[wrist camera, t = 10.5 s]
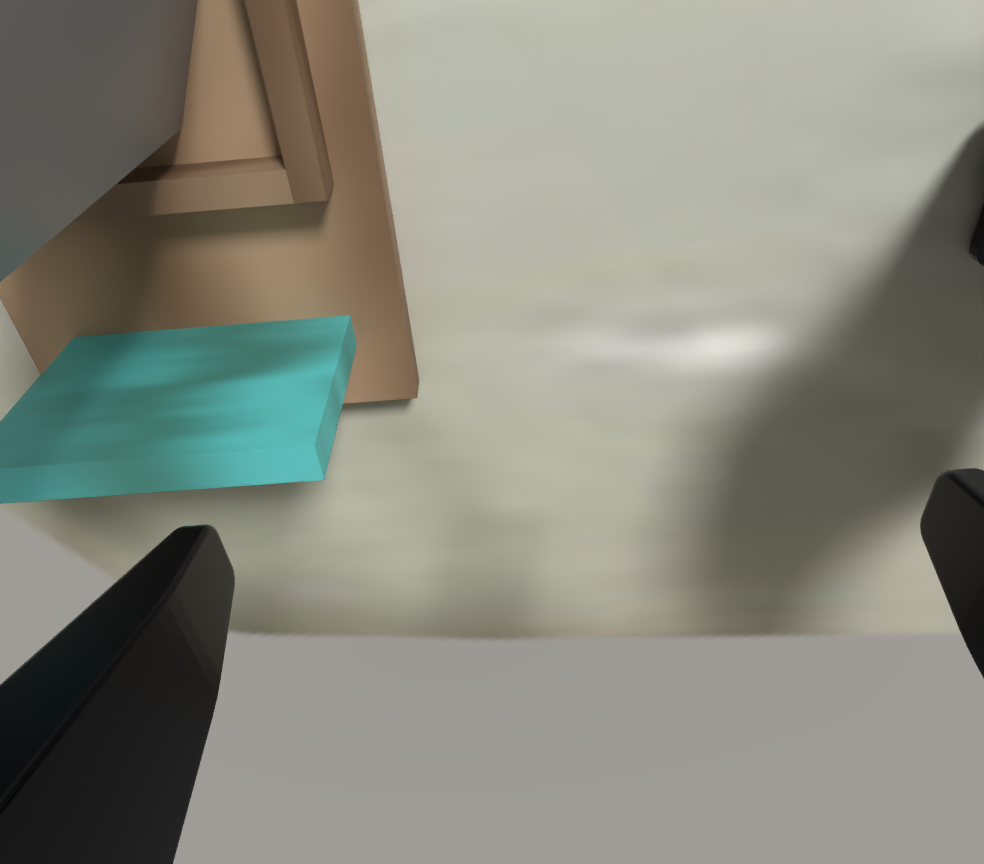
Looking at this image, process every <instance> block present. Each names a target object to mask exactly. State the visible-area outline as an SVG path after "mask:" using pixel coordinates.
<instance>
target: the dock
mask: <svg viewBox="0 0 984 864" xmlns="http://www.w3.org/2000/svg"><path fill="white" fill-rule="evenodd" d="M0 299H1V300H2V302H3V304H4V306H5V308H6V310H7V312H8V314H9V315H10V317H11V319H12V321H13V323H14V325H15V327H16V329H17V330H18V332H19V334H20V336H21V338H22V340H23V342H24V344H25V345H26V347H27V349H28V351H29V353H30V355H31V357H32V359H33V360H34V362H35V364H36V366H37V368H38V370H39V372H40V374H41V376H40V377H39V378H38V379H37V380H36V381H35V383H34V384H33V385H32V386H31V387H30V388H29V389H28V391H27V392H26V393H25V394H24V395H23V396H22V397H21V399H20V400H19V401H18V402H17V403H16V404H15V405H14V407H13V408H12V409H11V410H10V411H9V412H8V414H7V415H6V416H5V417H4V418H3V419H2V420H1V422H0V504H2V503H16V502H29V501H43V500H57V499H70V498H84V497H98V496H111V495H125V494H139V493H152V492H166V491H180V490H193V489H207V488H221V487H234V486H248V485H262V484H275V483H289V482H303V481H316V480H324V479H325V475H326V471H327V467H328V462H329V458H330V454H331V450H332V446H333V442H334V438H335V434H336V430H337V426H338V422H339V417H340V413H341V409H342V405H343V404H345V403H358V402H371V401H385V400H398V399H411V398H417V396H418V386H419V377H418V371H417V365H416V358H415V352H414V346H413V340H412V334H411V327H410V321H409V315H408V309H407V303H406V296H405V290H404V284H403V278H402V272H401V265H400V259H399V253H398V247H397V240H396V234H395V228H394V222H393V216H392V209H391V203H390V197H389V191H388V185H387V178H386V172H385V166H384V160H383V154H382V147H381V141H380V135H379V129H378V123H377V116H376V110H375V104H374V98H373V92H372V85H371V79H370V73H369V67H368V61H367V54H366V48H365V42H364V36H363V30H362V23H361V17H360V11H359V5H358V0H198V2H197V10H196V18H195V26H194V34H193V41H192V49H191V57H190V65H189V73H188V81H187V89H186V97H185V105H184V113H183V121H182V129H181V130H179V131H178V132H177V133H176V134H175V135H173V136H172V137H171V138H170V139H169V140H168V141H166V142H165V143H164V144H163V145H162V146H161V147H159V148H158V149H157V150H156V151H155V152H153V153H152V154H151V155H150V156H149V157H148V158H146V159H145V160H144V161H143V162H142V163H140V164H139V165H138V166H137V167H136V168H135V169H133V170H132V171H131V172H130V173H129V174H127V175H126V176H125V177H124V178H123V179H122V180H120V181H119V182H118V183H117V184H116V185H114V186H113V187H112V188H111V189H110V190H109V191H107V192H106V193H105V194H104V195H103V196H101V197H100V198H99V199H98V200H97V201H96V202H94V203H93V204H92V205H91V206H90V207H88V208H87V209H86V210H85V211H84V212H83V213H81V214H80V215H79V216H78V217H77V218H75V219H74V220H73V221H72V222H71V223H70V224H68V225H67V226H66V227H65V228H64V229H63V230H61V231H60V232H59V233H58V234H57V235H55V236H54V237H53V238H52V239H51V240H50V241H48V242H47V243H46V244H45V245H44V246H42V247H41V248H40V249H39V250H38V251H37V252H35V253H34V254H33V255H32V256H31V257H29V258H28V259H27V260H26V261H25V262H24V263H22V264H21V265H20V266H19V267H18V268H16V269H15V270H14V271H13V272H12V273H11V274H9V275H8V276H7V277H6V278H5V279H3V280H2V281H1V282H0Z"/></svg>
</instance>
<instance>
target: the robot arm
mask: <svg viewBox="0 0 984 864" xmlns="http://www.w3.org/2000/svg"><path fill="white" fill-rule="evenodd" d="M969 253H970V255H971V257H972V258H973V259H975V260H976V261H978V262H979V263H980V264H982V265H983V266H984V205H983V208H982V211H981V214H980V217H979V220H978V223H977V226H976V229H975V232H974V235H973V238H972V241H971V244H970V249H969ZM920 529H921V535H922V538H923V541H924V544H925V546H926V548H927V551H928V553H929V556H930V558H931V561H932V563H933V566H934V568H935V571H936V573H937V575H938V578H939V580H940V583H941V585H942V588H943V590H944V593H945V595H946V598H947V600H948V603H949V605H950V607H951V610H952V612H953V615H954V617H955V620H956V622H957V625H958V627H959V630H960V632H961V634H962V636H963V638H964V641H965V643H966V645H967V647H968V649H969V651H970V653H971V655H972V657H973V659H974V661H975V663H976V665H977V667H978V669H979V671H980V672H981V674H982V676H983V678H984V471H983V470H981V469H975V468H970V469H956V470H947V471H944V472H942V473H941V474H940V475H939V476H938V477H937V479H936V481H935V483H934V486H933V489H932V491H931V494H930V496H929V499H928V501H927V504H926V507H925V509H924V512H923V514H922V517H921V523H920ZM234 586H235V577H234V571H233V567H232V565H231V562H230V560H229V558H228V555H227V553H226V551H225V548H224V546H223V544H222V541H221V539H220V537H219V534H218V532H217V531H216V529H215V528H214V527H213V526H211V525H195V526H183V527H179V528H178V529H176V530H175V531H173V532H172V533H171V534H170V535H169V536H168V537H166V538H165V539H164V540H163V541H162V542H161V543H160V544H159V545H157V546H156V547H155V548H154V549H153V550H152V551H151V552H149V553H148V554H147V555H146V556H145V557H144V558H143V559H142V560H140V561H139V562H138V563H137V564H136V565H135V566H134V567H133V568H131V569H130V570H129V571H128V572H127V573H126V574H125V575H123V576H122V577H121V578H120V579H119V580H118V581H117V582H116V583H114V584H113V585H112V586H111V587H110V588H109V589H108V590H107V591H105V592H104V593H103V594H102V595H101V596H100V597H99V598H98V599H97V600H95V601H94V602H93V603H92V604H91V605H90V606H89V607H87V608H86V609H85V610H84V611H83V612H82V613H81V614H79V615H78V616H77V617H76V618H75V619H74V620H73V621H72V622H71V623H69V624H68V625H67V626H66V627H65V628H64V629H63V630H61V631H60V632H59V633H58V634H57V635H56V636H55V637H53V639H51V640H50V641H49V642H48V643H47V644H46V645H44V646H43V647H42V648H41V649H40V650H39V651H38V652H37V653H35V654H34V655H33V656H32V657H31V658H30V659H29V660H28V661H26V662H25V663H24V664H23V665H22V666H21V667H20V668H18V669H17V670H16V671H15V672H14V673H13V674H12V675H11V676H9V677H8V678H7V679H6V680H5V681H4V682H3V683H2V684H0V864H173V861H174V858H175V854H176V850H177V846H178V843H179V839H180V835H181V831H182V828H183V824H184V820H185V817H186V813H187V809H188V805H189V802H190V798H191V795H192V791H193V787H194V784H195V780H196V776H197V772H198V769H199V765H200V761H201V758H202V754H203V750H204V747H205V743H206V739H207V735H208V732H209V728H210V724H211V721H212V717H213V712H214V709H215V705H216V701H217V696H218V690H219V684H220V679H221V672H222V666H223V659H224V653H225V646H226V640H227V633H228V626H229V620H230V613H231V606H232V600H233V593H234Z"/></svg>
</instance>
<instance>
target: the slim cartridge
mask: <svg viewBox="0 0 984 864" xmlns="http://www.w3.org/2000/svg"><path fill="white" fill-rule="evenodd" d="M197 2H198V0H0V282H1V281H2V280H3V279H5V278H6V277H7V276H8V275H9V274H11V273H12V272H13V271H14V270H15V269H16V268H18V267H19V266H20V265H21V264H22V263H24V262H25V261H26V260H27V259H28V258H29V257H31V256H32V255H33V254H34V253H35V252H37V251H38V250H39V249H40V248H41V247H42V246H44V245H45V244H46V243H47V242H48V241H50V240H51V239H52V238H53V237H54V236H55V235H57V234H58V233H59V232H60V231H61V230H63V229H64V228H65V227H66V226H67V225H68V224H70V223H71V222H72V221H73V220H74V219H75V218H77V217H78V216H79V215H80V214H81V213H83V212H84V211H85V210H86V209H87V208H88V207H90V206H91V205H92V204H93V203H94V202H96V201H97V200H98V199H99V198H100V197H101V196H103V195H104V194H105V193H106V192H107V191H109V190H110V189H111V188H112V187H113V186H114V185H116V184H117V183H118V182H119V181H120V180H122V179H123V178H124V177H125V176H126V175H127V174H129V173H130V172H131V171H132V170H133V169H135V168H136V167H137V166H138V165H139V164H140V163H142V162H143V161H144V160H145V159H146V158H148V157H149V156H150V155H151V154H152V153H153V152H155V151H156V150H157V149H158V148H159V147H161V146H162V145H163V144H164V143H165V142H166V141H168V140H169V139H170V138H171V137H172V136H173V135H175V134H176V133H177V132H178V131H179V130H181V129H182V121H183V113H184V105H185V97H186V89H187V81H188V73H189V65H190V57H191V49H192V41H193V34H194V26H195V18H196V10H197Z"/></svg>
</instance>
